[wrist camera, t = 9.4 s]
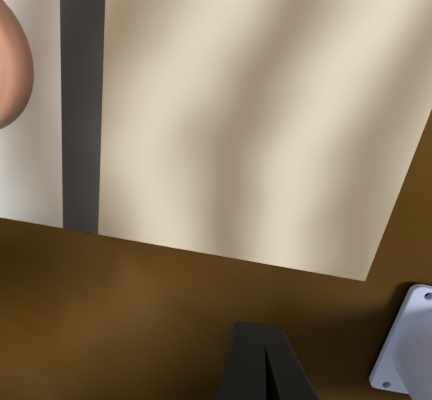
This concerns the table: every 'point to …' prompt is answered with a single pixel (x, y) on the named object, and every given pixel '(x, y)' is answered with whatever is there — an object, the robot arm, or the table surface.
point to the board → (222, 124)
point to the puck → (13, 67)
